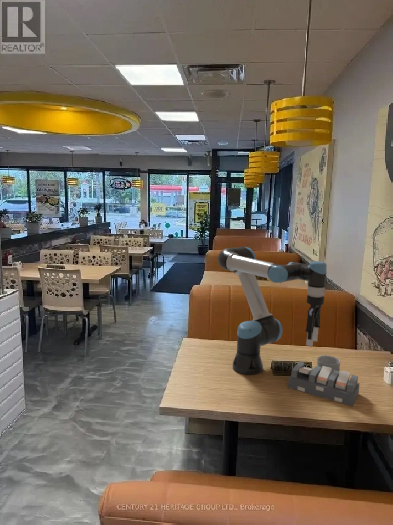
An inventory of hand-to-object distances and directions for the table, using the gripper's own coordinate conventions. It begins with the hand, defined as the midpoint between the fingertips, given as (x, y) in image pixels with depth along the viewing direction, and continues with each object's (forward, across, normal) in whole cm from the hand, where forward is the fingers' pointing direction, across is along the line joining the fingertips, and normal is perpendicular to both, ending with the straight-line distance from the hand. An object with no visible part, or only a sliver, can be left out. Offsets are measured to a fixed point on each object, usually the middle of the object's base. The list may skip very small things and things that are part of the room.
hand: (311, 343), depth 178 cm
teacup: (+19, +14, -5) cm, 24 cm away
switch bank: (+19, -6, -8) cm, 21 cm away
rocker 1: (+12, -6, 0) cm, 13 cm away
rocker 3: (+12, -6, -16) cm, 21 cm away
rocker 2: (+12, -6, -8) cm, 15 cm away
